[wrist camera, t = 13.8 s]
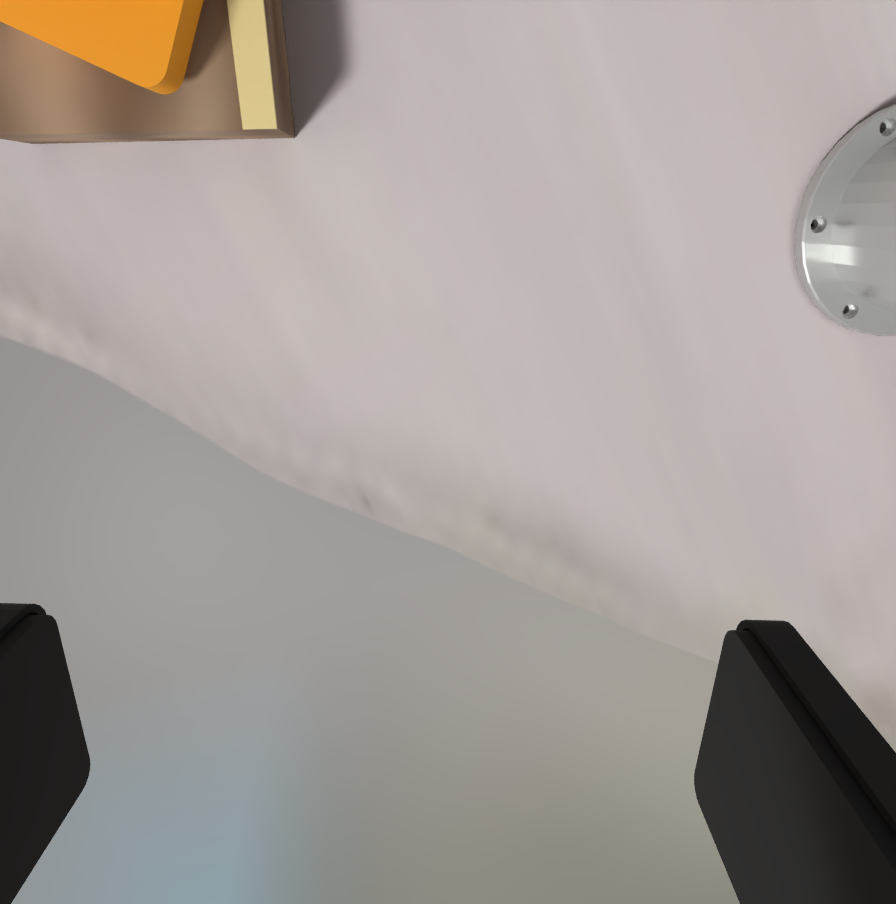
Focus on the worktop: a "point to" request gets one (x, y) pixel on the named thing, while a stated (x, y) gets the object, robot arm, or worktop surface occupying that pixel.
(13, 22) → the bracket
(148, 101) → the dock
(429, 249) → the worktop surface
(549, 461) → the worktop surface
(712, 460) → the worktop surface
